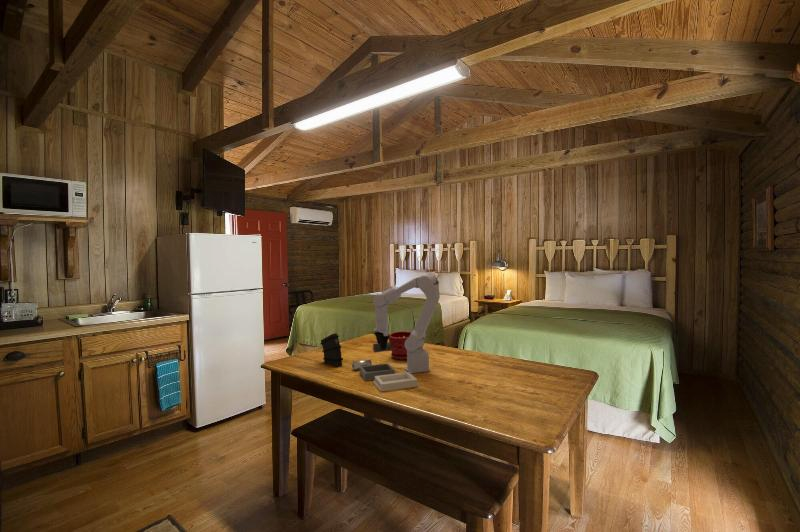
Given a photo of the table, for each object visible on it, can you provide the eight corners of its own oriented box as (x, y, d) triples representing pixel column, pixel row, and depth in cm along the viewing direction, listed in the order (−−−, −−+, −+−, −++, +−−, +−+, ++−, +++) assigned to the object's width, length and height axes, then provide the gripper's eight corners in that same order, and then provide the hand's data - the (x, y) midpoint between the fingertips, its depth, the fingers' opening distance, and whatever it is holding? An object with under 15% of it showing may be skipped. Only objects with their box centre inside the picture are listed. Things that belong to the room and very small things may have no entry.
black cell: (389, 349, 184) (388, 341, 184) (391, 351, 181) (391, 343, 180) (371, 351, 182) (371, 343, 181) (373, 353, 178) (373, 345, 178)
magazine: (340, 365, 178) (331, 334, 181) (326, 371, 186) (317, 341, 190) (346, 363, 180) (338, 332, 184) (332, 369, 189) (324, 340, 193)
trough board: (409, 378, 164) (409, 371, 164) (418, 386, 154) (418, 379, 154) (373, 383, 159) (373, 376, 158) (380, 391, 149) (379, 384, 149)
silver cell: (369, 362, 181) (370, 357, 179) (370, 370, 178) (372, 364, 176) (351, 365, 178) (352, 359, 176) (352, 372, 175) (353, 367, 173)
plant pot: (391, 353, 202) (390, 330, 201) (416, 354, 200) (416, 331, 199) (387, 361, 189) (386, 336, 188) (413, 361, 187) (413, 337, 186)
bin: (387, 369, 175) (387, 363, 175) (394, 376, 166) (394, 369, 166) (359, 373, 171) (359, 366, 171) (365, 380, 161) (364, 373, 161)
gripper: (369, 317, 186) (369, 345, 187) (377, 322, 172) (378, 352, 173) (383, 316, 188) (383, 343, 189) (392, 321, 175) (393, 351, 175)
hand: (382, 348), depth 181 cm, fingers closed on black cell, 4 cm apart
